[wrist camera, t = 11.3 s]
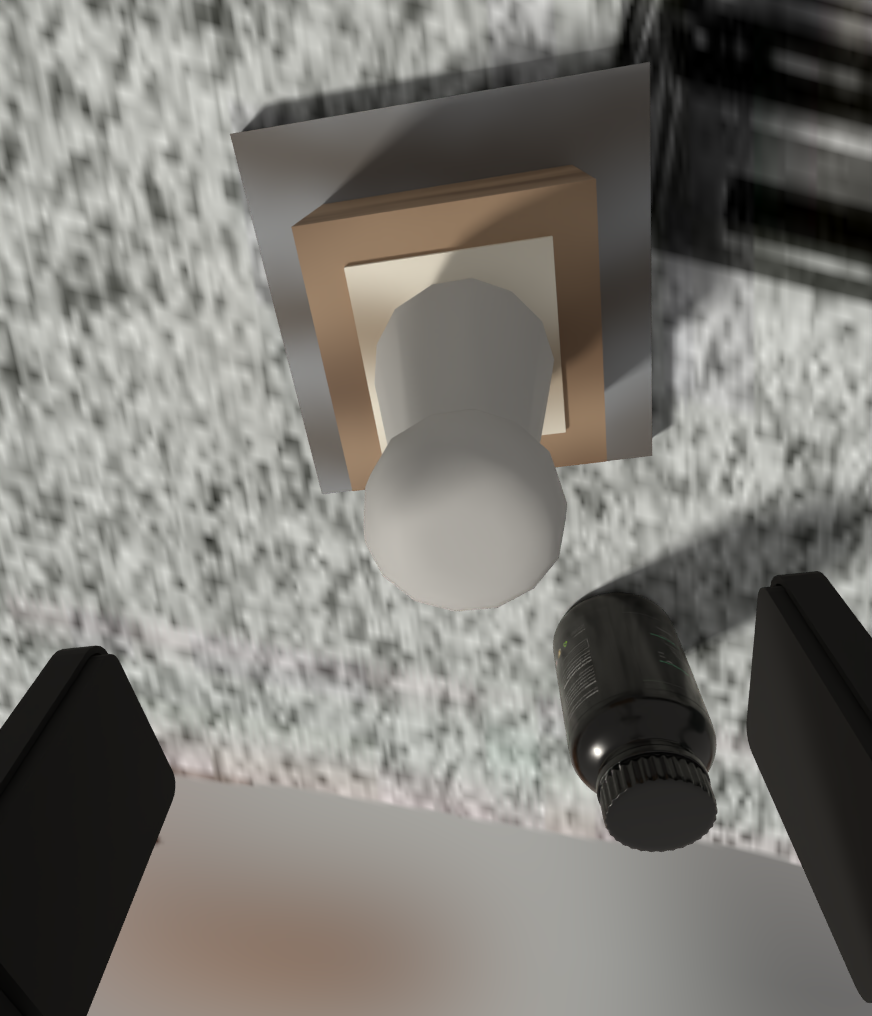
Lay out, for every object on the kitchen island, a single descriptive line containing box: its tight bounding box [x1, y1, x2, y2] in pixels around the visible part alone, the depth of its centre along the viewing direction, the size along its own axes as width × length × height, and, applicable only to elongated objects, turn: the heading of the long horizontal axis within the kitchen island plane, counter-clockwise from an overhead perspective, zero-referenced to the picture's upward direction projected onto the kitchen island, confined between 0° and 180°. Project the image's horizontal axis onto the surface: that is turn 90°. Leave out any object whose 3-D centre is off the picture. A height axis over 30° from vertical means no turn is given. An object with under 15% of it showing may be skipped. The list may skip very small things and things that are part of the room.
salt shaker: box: [364, 278, 567, 611], centre depth 20 cm, size 6×6×13 cm
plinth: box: [230, 62, 652, 494], centre depth 29 cm, size 16×16×8 cm
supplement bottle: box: [553, 592, 717, 852], centre depth 36 cm, size 7×7×12 cm
